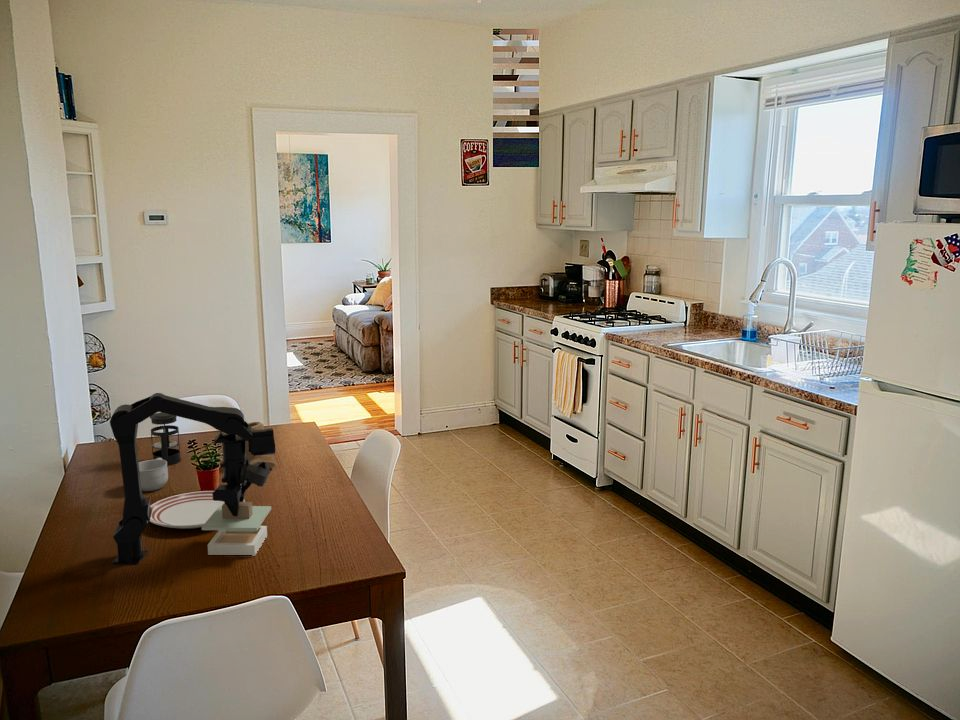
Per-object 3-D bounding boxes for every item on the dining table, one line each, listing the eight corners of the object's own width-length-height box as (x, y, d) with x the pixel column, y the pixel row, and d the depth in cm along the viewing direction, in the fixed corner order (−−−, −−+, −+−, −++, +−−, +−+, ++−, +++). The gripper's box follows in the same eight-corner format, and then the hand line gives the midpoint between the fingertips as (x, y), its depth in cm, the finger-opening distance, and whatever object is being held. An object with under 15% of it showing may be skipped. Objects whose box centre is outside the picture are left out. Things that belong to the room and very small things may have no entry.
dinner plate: (147, 504, 222) (147, 494, 221) (242, 494, 232) (242, 484, 231) (142, 542, 197) (141, 531, 196) (249, 529, 206) (248, 518, 206)
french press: (153, 457, 263) (149, 395, 258) (181, 455, 266) (177, 393, 261) (150, 468, 252) (146, 403, 247) (180, 466, 255) (176, 401, 250)
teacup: (155, 495, 228) (153, 471, 227) (124, 492, 231) (122, 468, 229) (181, 480, 242) (180, 456, 240) (152, 477, 244) (150, 454, 242)
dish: (254, 556, 190) (254, 545, 189) (208, 555, 190) (207, 544, 189) (267, 536, 202) (266, 525, 201) (223, 535, 202) (222, 525, 201)
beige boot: (236, 460, 262) (234, 419, 259) (271, 456, 266) (269, 416, 264) (240, 474, 248) (238, 431, 245) (277, 470, 253) (275, 428, 250)
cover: (256, 530, 188) (256, 514, 187) (201, 530, 187) (200, 514, 187) (271, 509, 201) (270, 494, 201) (219, 508, 201) (219, 493, 200)
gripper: (255, 469, 182) (258, 528, 185) (274, 446, 200) (277, 500, 203) (210, 469, 182) (213, 528, 185) (233, 445, 200) (236, 499, 203)
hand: (237, 513), depth 194 cm, fingers closed on cover, 3 cm apart
